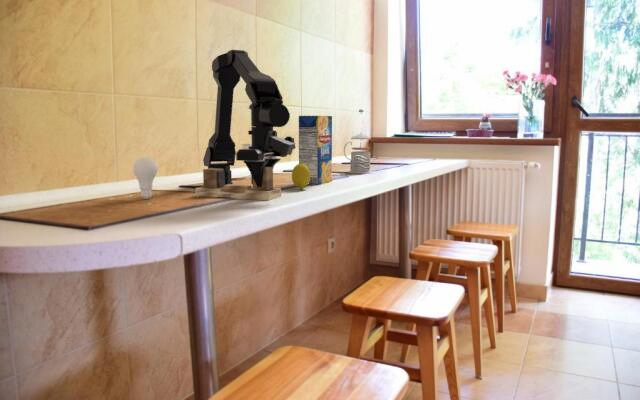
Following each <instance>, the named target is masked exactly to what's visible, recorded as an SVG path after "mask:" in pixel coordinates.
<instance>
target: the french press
mask: <svg viewBox="0 0 640 400" xmlns="http://www.w3.org/2000/svg"><path fill="white" fill-rule="evenodd" d="M358 113H360V114H362V113H364V109H363V108H360V109H359V110H358ZM371 139H372V137H371V136H369V135H367V134H364V133H359V134H355V135H352V136H351V137H350V140H371ZM349 143H350V146H352V144H353V143H352V141H348V142H346V143H345V145H344V147H343V154H344V157H345V158H346V159H348V160H349V161H350V170H349V171H348V174H358V175H359V174H364V175H365V174H372V173H373V171H372V170H371V151H367V150H370V149H371V148H370V147H362V143H360V146H359V147H352V148H351V150H355V151H351V153H350V158H348V157H347V156H346V151H345V149H346V146H347V145H348V144H349ZM356 150H357V151H356Z"/></svg>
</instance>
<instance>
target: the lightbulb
mask: <svg viewBox="0 0 640 400" xmlns="http://www.w3.org/2000/svg"><path fill="white" fill-rule="evenodd" d="M132 172H133V174H134V176H135V177H136V179H137V182H138V186H139V189H140V197H142V198H143V199H144V200H149V198H151V197H152V189H153V183H154V179H155V177H156V175H157V173H158V165H157V163H156V162H155V160H154V159H152V158H151V157H148V156H141V157H139V158H137V159H136V160H135V161H134V163H133V164H132Z"/></svg>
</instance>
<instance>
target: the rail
mask: <svg viewBox="0 0 640 400" xmlns="http://www.w3.org/2000/svg"><path fill="white" fill-rule="evenodd" d="M202 172H203V173H202V175H203V182H202V183H203V186H199V187H195V192H194V197H199V196H213V197H212V198H217V197H231V198H230V199H235V200H236V199H240V200H254V201H255V200H257V201H258V200H259V201H271V200H274V199H277V198H281V197H282V189H281V188H278V187H276V188H275V187H273V189H271V190H268V191H261V190H253V184H251V185H250V184H228V185H225V171H224V170H223V169H218V168H209V169H208V168H203V169H202Z"/></svg>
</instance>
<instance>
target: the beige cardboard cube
mask: <svg viewBox="0 0 640 400" xmlns="http://www.w3.org/2000/svg"><path fill="white" fill-rule="evenodd" d="M250 175H251V174H250ZM250 179H251V185H252V189H253V190H261V191H268V190H271V189H273V188H274V168H273V167H266V166H264V170H263V180H262V186H261V187H257V185H256V183H255V181H254V179H253V177H252V175H251V178H250Z"/></svg>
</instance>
